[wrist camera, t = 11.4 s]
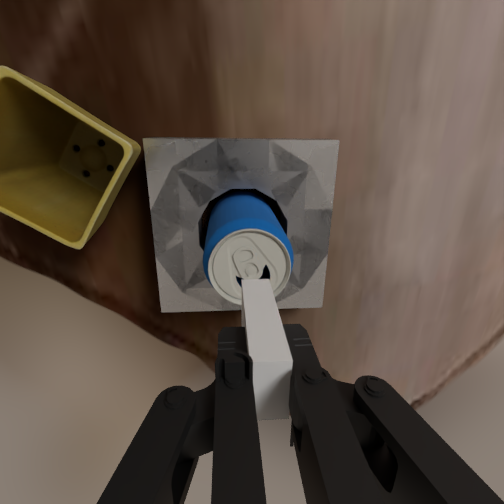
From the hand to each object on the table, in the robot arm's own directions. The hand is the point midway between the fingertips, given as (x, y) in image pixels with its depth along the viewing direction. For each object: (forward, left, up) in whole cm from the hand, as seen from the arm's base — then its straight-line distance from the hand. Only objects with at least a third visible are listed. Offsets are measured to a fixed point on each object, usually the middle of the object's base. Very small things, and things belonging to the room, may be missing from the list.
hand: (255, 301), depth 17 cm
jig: (0, 0, -16) cm, 16 cm away
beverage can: (0, 0, -16) cm, 16 cm away
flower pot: (-13, +6, -16) cm, 22 cm away
